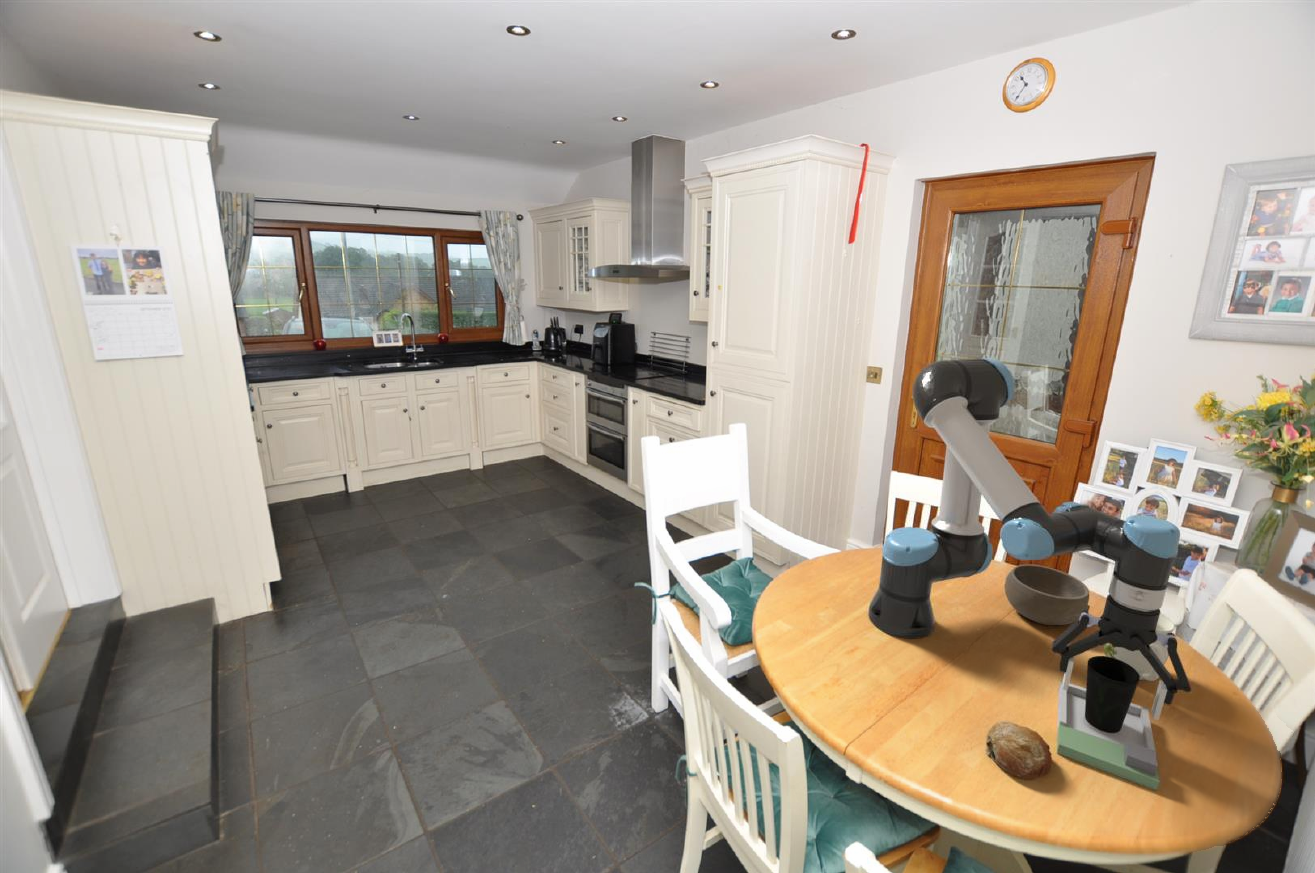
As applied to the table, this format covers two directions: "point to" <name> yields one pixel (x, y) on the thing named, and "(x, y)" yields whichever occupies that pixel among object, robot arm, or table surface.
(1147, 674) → the pitcher
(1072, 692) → the green and grey tray
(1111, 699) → the cup
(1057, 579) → the bowl
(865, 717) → the table surface
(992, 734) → the bread roll
